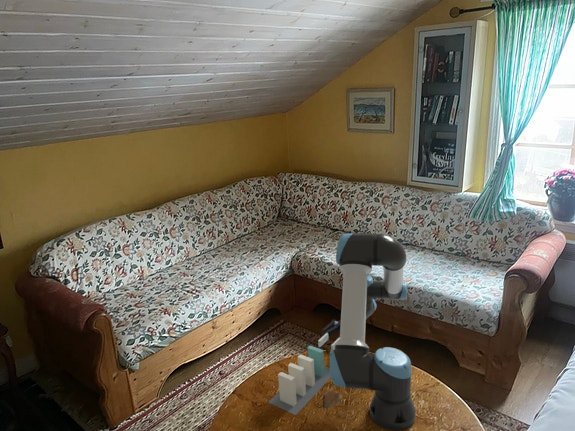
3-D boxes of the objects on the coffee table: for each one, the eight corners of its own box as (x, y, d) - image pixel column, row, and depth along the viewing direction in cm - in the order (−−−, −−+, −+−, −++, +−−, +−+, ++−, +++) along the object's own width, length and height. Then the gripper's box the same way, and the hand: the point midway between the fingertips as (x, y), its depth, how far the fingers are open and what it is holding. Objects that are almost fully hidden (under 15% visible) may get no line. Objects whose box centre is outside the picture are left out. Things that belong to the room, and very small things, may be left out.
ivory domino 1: (296, 403, 163) (294, 377, 160) (293, 406, 162) (291, 380, 158) (283, 397, 167) (281, 371, 163) (280, 400, 165) (277, 374, 162)
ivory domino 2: (306, 393, 168) (304, 368, 164) (303, 396, 166) (301, 370, 163) (292, 387, 171) (290, 362, 168) (289, 390, 170) (288, 365, 166)
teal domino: (324, 374, 177) (323, 350, 174) (321, 377, 176) (320, 352, 172) (311, 369, 181) (310, 345, 177) (308, 372, 179) (307, 347, 176)
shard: (323, 416, 159) (322, 412, 158) (308, 404, 164) (308, 400, 164) (345, 401, 165) (345, 397, 164) (330, 390, 171) (330, 386, 170)
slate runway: (337, 372, 179) (337, 370, 179) (295, 417, 158) (295, 415, 158) (311, 363, 186) (311, 360, 186) (268, 404, 165) (268, 402, 165)
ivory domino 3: (315, 384, 172) (313, 359, 169) (312, 387, 171) (311, 361, 168) (301, 378, 176) (300, 354, 172) (299, 381, 174) (297, 356, 171)
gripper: (373, 332, 195) (346, 361, 177) (335, 321, 205) (306, 347, 188) (373, 317, 192) (345, 345, 175) (335, 306, 203) (305, 331, 185)
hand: (325, 346), depth 181 cm, fingers open, 5 cm apart
